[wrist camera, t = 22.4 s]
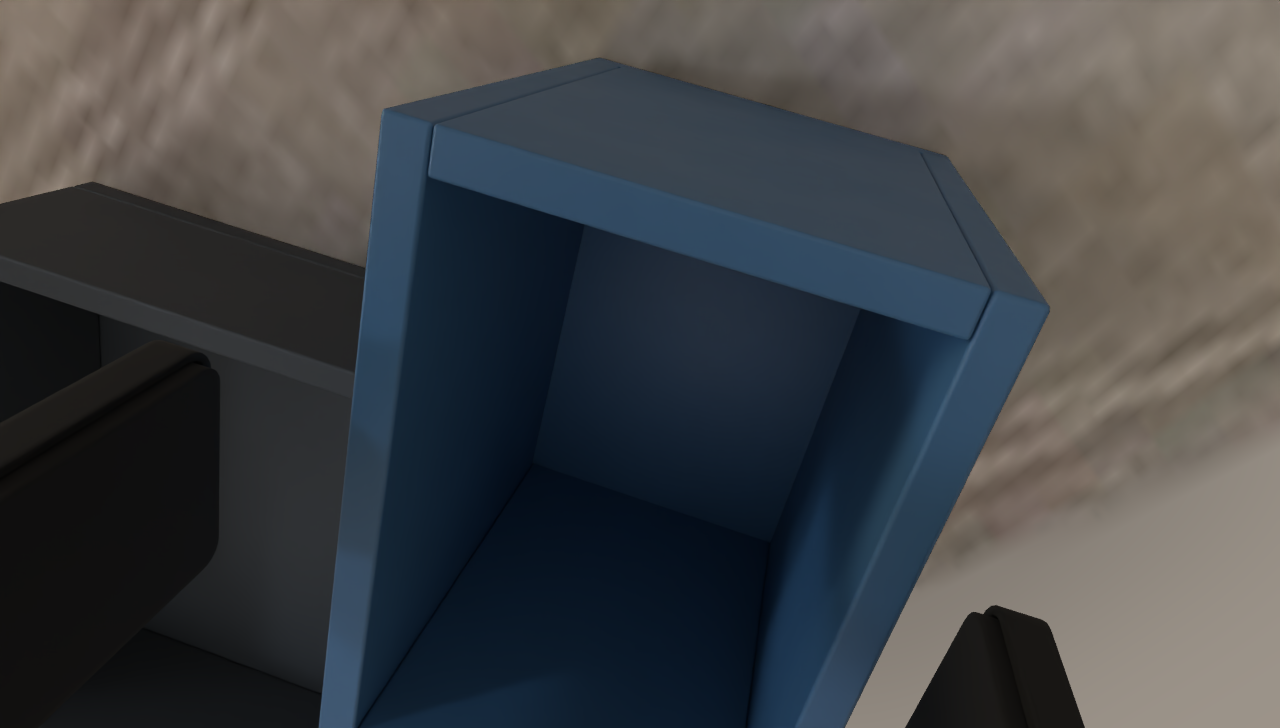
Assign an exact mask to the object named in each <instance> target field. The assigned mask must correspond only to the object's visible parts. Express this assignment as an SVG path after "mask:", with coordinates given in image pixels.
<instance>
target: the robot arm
mask: <svg viewBox="0 0 1280 728" xmlns="http://www.w3.org/2000/svg"><path fill="white" fill-rule="evenodd" d="M219 464H220V376H219V374H218V372H217V371H216V370H214V369H212V368H211V363H210V361H209V359H208V357H207V356H206V355H204V354H203V353H201V352H198V351H195V350H191V349H188V348H185V347H182V346H179V345H176V344H173V343H169V342H166V341H163V340H154V341H151V342H148V343H146V344H144V345H143V346H141V347H139V348H137V349H135V350H133V351H131V352H130V353H128V354H126V355H124V356H122V357H120V358H119V359H117V360H115V361H113V362H111V363H109V364H108V365H106V366H104V367H102V368H100V369H98V370H97V371H95V372H93V373H91V374H89V375H87V376H86V377H84V378H82V379H80V380H78V381H76V382H75V383H73V384H71V385H69V386H67V387H65V388H64V389H62V390H60V391H58V392H56V393H54V394H53V395H51V396H49V397H47V398H45V399H43V400H42V401H40V402H38V403H36V404H34V405H32V406H31V407H29V408H27V409H25V410H23V411H21V412H19V413H18V414H16V415H14V416H12V417H10V418H8V419H7V420H5V421H3V422H1V423H0V728H39V727H40V726H41V725H42V724H43V723H44V722H45V721H46V720H47V719H48V718H49V717H50V716H51V715H52V714H53V713H54V712H55V711H56V710H57V709H58V708H59V707H60V706H61V705H62V704H64V703H65V702H66V701H67V700H68V699H69V698H70V697H71V696H72V695H73V694H74V693H75V692H76V691H77V690H78V689H79V688H80V687H81V686H82V685H83V684H84V683H85V682H86V681H88V680H89V679H90V678H91V677H92V676H93V675H94V674H95V673H96V672H97V671H98V670H99V669H100V668H101V667H102V666H103V665H104V664H105V663H106V662H107V661H108V660H109V659H110V658H112V657H113V656H114V655H115V654H116V653H117V652H118V651H119V650H120V649H121V648H122V647H123V646H124V645H125V644H126V643H127V642H128V641H129V640H130V639H131V638H132V637H133V636H134V635H135V634H137V633H138V632H139V631H140V630H141V629H142V628H143V627H144V626H145V625H146V624H147V623H148V622H149V621H150V620H151V619H152V618H153V617H154V616H155V615H156V614H157V613H158V612H159V611H161V610H162V609H163V608H164V607H165V606H166V605H167V604H168V603H169V602H170V601H171V600H172V599H173V598H174V597H175V596H176V595H177V594H178V593H179V592H180V591H181V590H182V589H183V588H185V587H186V586H187V585H188V584H189V583H190V582H191V581H192V580H193V579H194V578H195V577H196V576H197V575H198V574H199V573H200V572H201V571H202V570H203V569H204V568H205V567H206V566H207V565H208V564H209V562H210V561H211V559H212V557H213V555H214V553H215V551H216V548H217V545H218V540H219ZM905 728H1085V727H1084V724H1083V721H1082V718H1081V715H1080V712H1079V710H1078V707H1077V704H1076V701H1075V698H1074V695H1073V692H1072V689H1071V687H1070V684H1069V681H1068V678H1067V675H1066V672H1065V669H1064V666H1063V663H1062V660H1061V658H1060V655H1059V652H1058V649H1057V646H1056V643H1055V640H1054V638H1053V634H1052V632H1051V629H1050V627H1049V626H1048V624H1047V623H1046V622H1045V621H1043V620H1041V619H1038V618H1034V617H1032V616H1028V615H1025V614H1022V613H1019V612H1016V611H1013V610H1009V609H1006V608H1003V607H1000V606H997V605H995V606H991V607H989V608H988V609H987V610H986V611H985V613H984V614H980V613H977V612H972V613H970V614H969V615H968V616H967V618H966V619H965V621H964V622H963V624H962V626H961V628H960V630H959V632H958V633H957V635H956V637H955V639H954V641H953V642H952V644H951V646H950V648H949V649H948V651H947V653H946V655H945V657H944V659H943V660H942V662H941V664H940V666H939V667H938V669H937V671H936V673H935V675H934V677H933V678H932V680H931V683H930V684H929V686H928V688H927V689H926V691H925V693H924V695H923V696H922V698H921V700H920V702H919V704H918V705H917V708H916V709H915V711H914V713H913V715H912V716H911V718H910V720H909V722H908V724H907V725H906V727H905Z"/></svg>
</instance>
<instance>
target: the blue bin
mask: <svg viewBox="0 0 1280 728" xmlns="http://www.w3.org/2000/svg"><path fill="white" fill-rule="evenodd" d="M1049 312H1050V306H1049V305H1048V303H1047V302H1046V300H1045V299H1044V297H1043V296H1042V294H1041V293H1040V292H1039V290H1038V289H1037V287H1036V286H1035V284H1034V283H1033V281H1032V280H1031V278H1030V277H1029V275H1028V274H1027V273H1026V271H1025V270H1024V268H1023V267H1022V265H1021V264H1020V262H1019V261H1018V259H1017V258H1016V257H1015V255H1014V254H1013V252H1012V251H1011V249H1010V248H1009V246H1008V245H1007V243H1006V242H1005V240H1004V239H1003V238H1002V236H1001V235H1000V233H999V232H998V230H997V229H996V227H995V226H994V224H993V223H992V221H991V220H990V219H989V217H988V216H987V214H986V213H985V211H984V210H983V208H982V207H981V205H980V204H979V203H978V201H977V200H976V198H975V197H974V195H973V194H972V192H971V191H970V189H969V188H968V186H967V185H966V184H965V182H964V181H963V179H962V178H961V176H960V175H959V173H958V172H957V170H956V169H955V167H954V166H953V165H952V163H951V161H950V160H949V158H948V157H947V156H945V155H942V154H938V153H935V152H931V151H928V150H924V149H921V148H917V147H914V146H910V145H907V144H903V143H900V142H896V141H892V140H889V139H885V138H882V137H878V136H875V135H871V134H868V133H864V132H861V131H857V130H854V129H850V128H847V127H843V126H839V125H836V124H832V123H829V122H825V121H822V120H818V119H815V118H811V117H808V116H804V115H801V114H797V113H794V112H790V111H786V110H783V109H779V108H776V107H772V106H769V105H765V104H762V103H758V102H755V101H751V100H748V99H744V98H741V97H737V96H733V95H730V94H726V93H723V92H719V91H716V90H712V89H709V88H705V87H702V86H698V85H695V84H691V83H688V82H684V81H680V80H677V79H673V78H670V77H666V76H663V75H659V74H656V73H652V72H649V71H645V70H642V69H638V68H635V67H631V66H627V65H624V64H620V63H617V62H613V61H610V60H606V59H603V58H596V59H591V60H587V61H583V62H579V63H575V64H570V65H566V66H562V67H558V68H554V69H549V70H545V71H541V72H537V73H533V74H528V75H524V76H520V77H516V78H512V79H507V80H503V81H499V82H495V83H491V84H486V85H482V86H478V87H474V88H470V89H465V90H461V91H457V92H453V93H449V94H444V95H440V96H436V97H432V98H428V99H423V100H419V101H415V102H411V103H407V104H402V105H398V106H394V107H390V108H386V109H384V110H383V111H382V115H381V125H380V135H379V145H378V154H377V164H376V174H375V184H374V193H373V203H372V213H371V223H370V232H369V242H368V252H367V262H366V271H365V281H364V291H363V301H362V310H361V320H360V330H359V340H358V349H357V359H356V369H355V378H354V388H353V398H352V408H351V417H350V427H349V437H348V447H347V456H346V466H345V476H344V486H343V495H342V505H341V515H340V525H339V534H338V544H337V554H336V564H335V573H334V583H333V593H332V603H331V612H330V622H329V632H328V641H327V651H326V661H325V671H324V680H323V690H322V700H321V710H320V719H319V728H845V726H846V724H847V722H848V720H849V718H850V716H851V714H852V712H853V710H854V708H855V706H856V703H857V701H858V700H859V698H860V696H861V694H862V692H863V689H864V687H865V685H866V683H867V681H868V679H869V677H870V675H871V673H872V671H873V669H874V667H875V665H876V663H877V661H878V659H879V657H880V655H881V653H882V651H883V649H884V647H885V645H886V643H887V641H888V639H889V637H890V635H891V633H892V631H893V629H894V627H895V625H896V622H897V620H898V618H899V616H900V614H901V612H902V610H903V608H904V606H905V604H906V602H907V600H908V598H909V596H910V594H911V592H912V590H913V588H914V586H915V584H916V582H917V580H918V578H919V576H920V574H921V572H922V570H923V568H924V566H925V564H926V562H927V560H928V558H929V556H930V554H931V552H932V549H933V547H934V545H935V543H936V541H937V539H938V537H939V535H940V533H941V531H942V529H943V527H944V525H945V523H946V521H947V519H948V517H949V515H950V513H951V511H952V509H953V507H954V505H955V503H956V501H957V499H958V497H959V495H960V493H961V491H962V489H963V487H964V485H965V483H966V481H967V478H968V476H969V474H970V472H971V470H972V468H973V466H974V464H975V462H976V460H977V458H978V456H979V454H980V452H981V450H982V448H983V446H984V444H985V442H986V440H987V438H988V436H989V434H990V432H991V430H992V428H993V426H994V424H995V422H996V420H997V418H998V416H999V414H1000V412H1001V409H1002V407H1003V405H1004V403H1005V401H1006V399H1007V397H1008V395H1009V393H1010V391H1011V389H1012V387H1013V385H1014V383H1015V381H1016V379H1017V377H1018V375H1019V373H1020V371H1021V369H1022V367H1023V365H1024V363H1025V361H1026V359H1027V357H1028V355H1029V353H1030V351H1031V349H1032V347H1033V345H1034V343H1035V341H1036V338H1037V336H1038V334H1039V332H1040V330H1041V328H1042V326H1043V324H1044V322H1045V320H1046V318H1047V316H1048V314H1049Z"/></svg>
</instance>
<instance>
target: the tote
mask: <svg viewBox="0 0 1280 728" xmlns="http://www.w3.org/2000/svg"><path fill="white" fill-rule="evenodd" d="M365 271H366V268H362V267H359V266H356V265H353V264H350V263H347V262H344V261H340V260H337V259H334V258H331V257H328V256H325V255H322V254H318V253H315V252H312V251H309V250H306V249H303V248H299V247H296V246H293V245H290V244H287V243H284V242H281V241H277V240H274V239H271V238H268V237H265V236H262V235H259V234H255V233H252V232H249V231H246V230H243V229H240V228H236V227H233V226H230V225H227V224H224V223H221V222H218V221H214V220H211V219H208V218H205V217H202V216H199V215H196V214H192V213H189V212H186V211H183V210H180V209H177V208H173V207H170V206H167V205H164V204H161V203H158V202H155V201H151V200H148V199H145V198H142V197H139V196H136V195H133V194H129V193H126V192H123V191H120V190H117V189H114V188H110V187H107V186H104V185H101V184H98V183H95V182H89V183H85V184H81V185H77V186H75V187H68V188H64V189H60V190H56V191H52V192H47V193H43V194H39V195H35V196H31V197H27V198H23V199H18V200H14V201H10V202H6V203H2V204H0V423H1V422H3V421H5V420H7V419H8V418H10V417H12V416H14V415H16V414H18V413H19V412H21V411H23V410H25V409H27V408H29V407H31V406H32V405H34V404H36V403H38V402H40V401H42V400H43V399H45V398H47V397H49V396H51V395H53V394H54V393H56V392H58V391H60V390H62V389H64V388H65V387H67V386H69V385H71V384H73V383H75V382H76V381H78V380H80V379H82V378H84V377H86V376H87V375H89V374H91V373H93V372H95V371H97V370H98V369H100V368H102V367H104V366H106V365H108V364H109V363H111V362H113V361H115V360H117V359H119V358H120V357H122V356H124V355H126V354H128V353H130V352H131V351H133V350H135V349H137V348H139V347H141V346H143V345H144V344H146V343H148V342H151V341H154V340H163V341H166V342H169V343H173V344H176V345H179V346H182V347H185V348H188V349H191V350H195V351H198V352H201V353H203V354H204V355H206V356H207V357H208V359H209V361H210V363H211V368H212V369H214V370H216V371H217V372H218V374H219V376H220V464H219V540H218V545H217V548H216V551H215V553H214V555H213V557H212V559H211V561H210V562H209V564H208V565H207V566H206V567H205V568H204V569H203V570H202V571H201V572H200V573H199V574H198V575H197V576H196V577H195V578H194V579H193V580H192V581H191V582H190V583H189V584H188V585H187V586H186V587H185V588H183V589H182V590H181V591H180V592H179V593H178V594H177V595H176V596H175V597H174V598H173V599H172V600H171V601H170V602H169V603H168V604H167V605H166V606H165V607H164V608H163V609H162V610H161V611H159V612H158V613H157V614H156V615H155V616H154V617H153V618H152V619H151V620H150V621H149V622H148V623H147V624H146V625H145V626H144V627H143V628H142V629H141V630H140V631H139V632H138V633H137V634H135V635H134V636H133V637H132V638H131V639H130V640H129V641H128V642H127V643H126V644H125V645H124V646H123V647H122V648H121V649H120V650H119V651H118V652H117V653H116V654H115V655H114V656H113V657H112V658H110V659H109V660H108V661H107V662H106V663H105V664H104V665H103V666H102V667H101V668H100V669H99V670H98V671H97V672H96V673H95V674H94V675H93V676H92V677H91V678H90V679H89V680H88V681H86V682H85V683H84V684H83V685H82V686H81V687H80V688H79V689H78V690H77V691H76V692H75V693H74V694H73V695H72V696H71V697H70V698H69V699H68V700H67V701H66V702H65V703H64V704H62V705H61V706H60V707H59V708H58V709H57V710H56V711H55V712H54V713H53V714H52V715H51V716H50V717H49V718H48V719H47V720H46V721H45V722H44V723H43V724H42V725H41V726H40V727H39V728H319V719H320V710H321V700H322V690H323V680H324V671H325V661H326V651H327V641H328V632H329V622H330V612H331V603H332V593H333V583H334V573H335V564H336V554H337V544H338V534H339V525H340V515H341V505H342V495H343V486H344V476H345V466H346V456H347V447H348V437H349V427H350V417H351V408H352V398H353V388H354V378H355V369H356V359H357V349H358V340H359V330H360V320H361V310H362V301H363V291H364V281H365Z"/></svg>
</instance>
